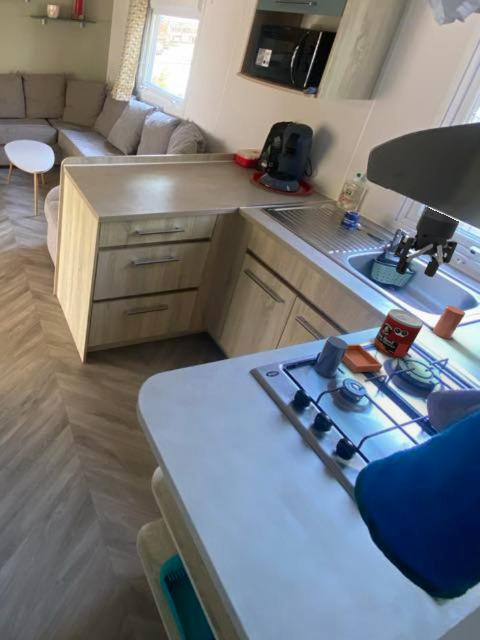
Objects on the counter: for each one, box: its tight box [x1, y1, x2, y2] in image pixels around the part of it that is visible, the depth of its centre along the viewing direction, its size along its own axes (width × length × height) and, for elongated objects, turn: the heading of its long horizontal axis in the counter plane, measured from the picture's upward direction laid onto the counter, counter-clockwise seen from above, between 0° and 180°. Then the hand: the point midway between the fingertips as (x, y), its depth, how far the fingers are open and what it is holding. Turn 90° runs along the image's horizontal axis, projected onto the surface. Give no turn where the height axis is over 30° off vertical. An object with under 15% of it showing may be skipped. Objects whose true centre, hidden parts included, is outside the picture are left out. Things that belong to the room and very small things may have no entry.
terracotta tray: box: [341, 343, 383, 373], centre depth 111 cm, size 8×8×2 cm
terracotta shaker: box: [432, 304, 466, 340], centre depth 128 cm, size 5×5×9 cm
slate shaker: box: [314, 335, 349, 378], centre depth 104 cm, size 5×5×9 cm
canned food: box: [373, 308, 424, 359], centre depth 116 cm, size 8×8×11 cm
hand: (414, 274), depth 110 cm, fingers open, 8 cm apart
